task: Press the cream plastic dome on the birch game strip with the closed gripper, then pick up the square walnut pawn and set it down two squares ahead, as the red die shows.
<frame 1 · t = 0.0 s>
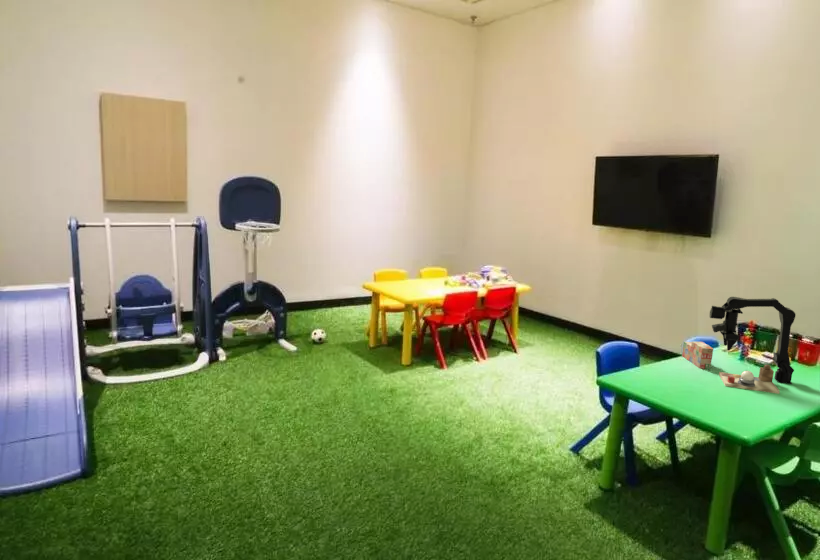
hand: (726, 347, 295), 15 cm above the table, fingers open, 9 cm apart
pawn: (765, 380, 285), point 2 cm above the table, touching game board
stack of blocks: (695, 362, 314), on the table
game board: (747, 383, 283), on the table
dome: (747, 376, 277), point 6 cm above the table, slide at 0.0 cm
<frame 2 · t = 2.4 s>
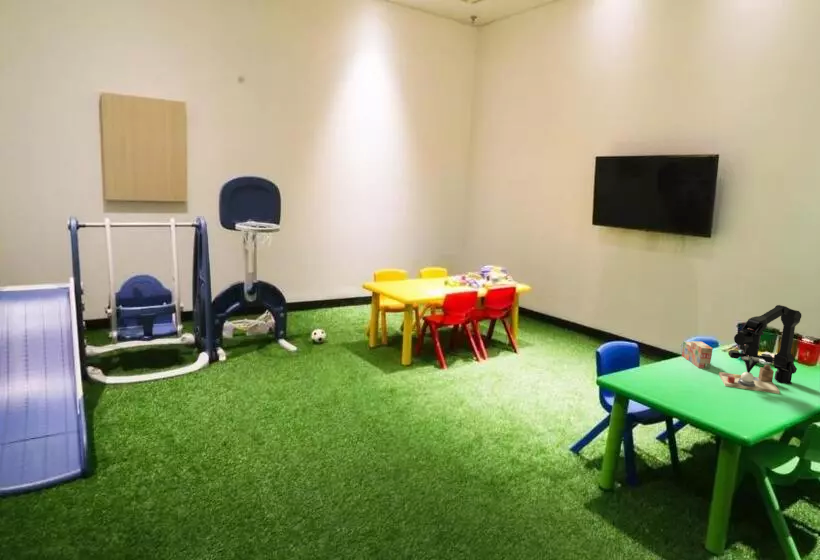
hand: (748, 372, 277), 8 cm above the table, fingers closed, pressing on dome
dome: (747, 377, 277), point 5 cm above the table, slide at 0.6 cm, touching gripper
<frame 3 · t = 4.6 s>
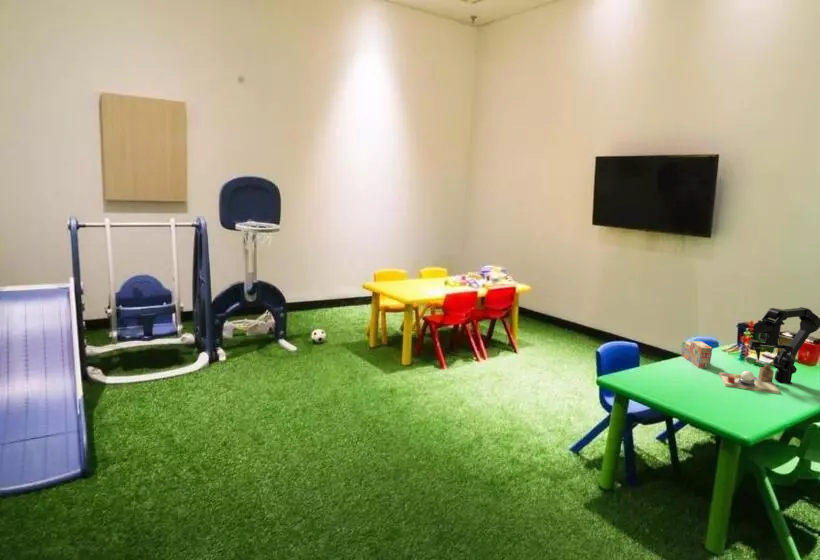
hand: (768, 361, 283), 12 cm above the table, fingers open, 9 cm apart
dome: (747, 376, 277), point 6 cm above the table, slide at 0.0 cm
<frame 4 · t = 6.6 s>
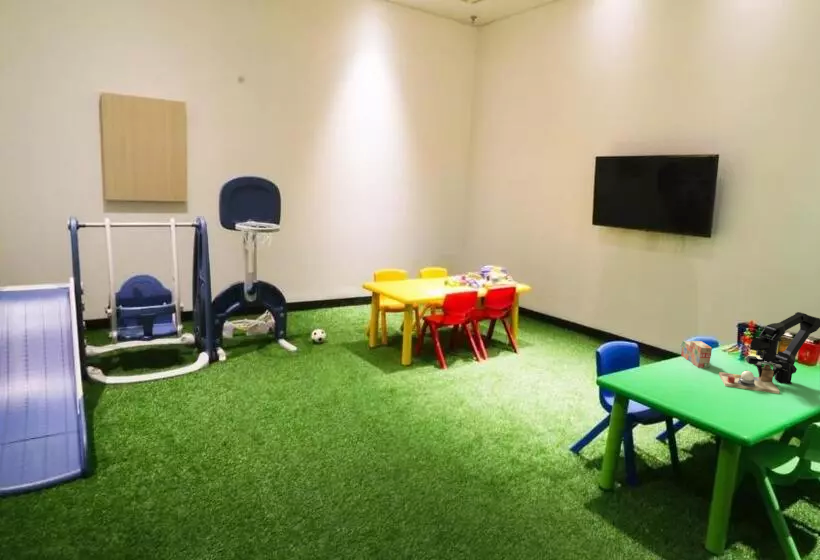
hand: (765, 377, 284), 3 cm above the table, fingers closed on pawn, 5 cm apart
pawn: (765, 380, 285), point 2 cm above the table, touching game board, gripper
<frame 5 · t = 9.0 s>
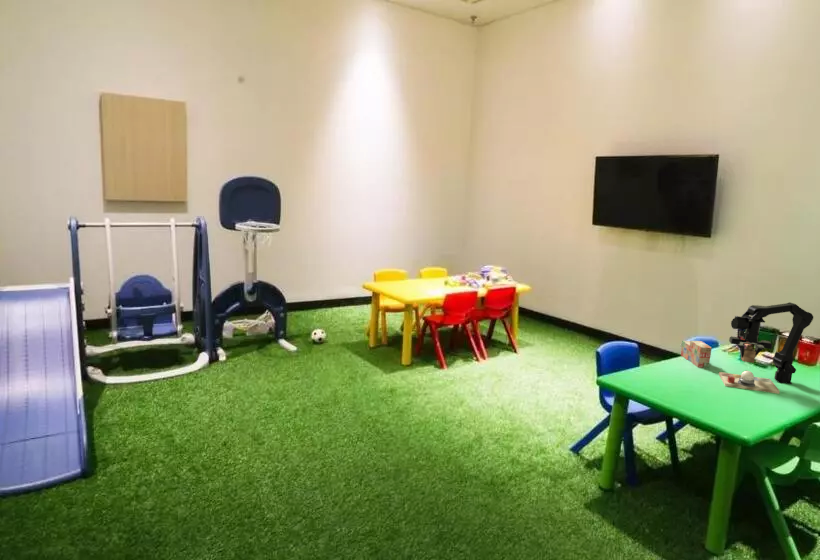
hand: (747, 358, 286), 12 cm above the table, fingers closed on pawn, 5 cm apart
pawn: (747, 360, 286), point 11 cm above the table, touching gripper
when the fingers open (4 cm above the table, at t = 11.5 s): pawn drops 1 cm, resting on game board.
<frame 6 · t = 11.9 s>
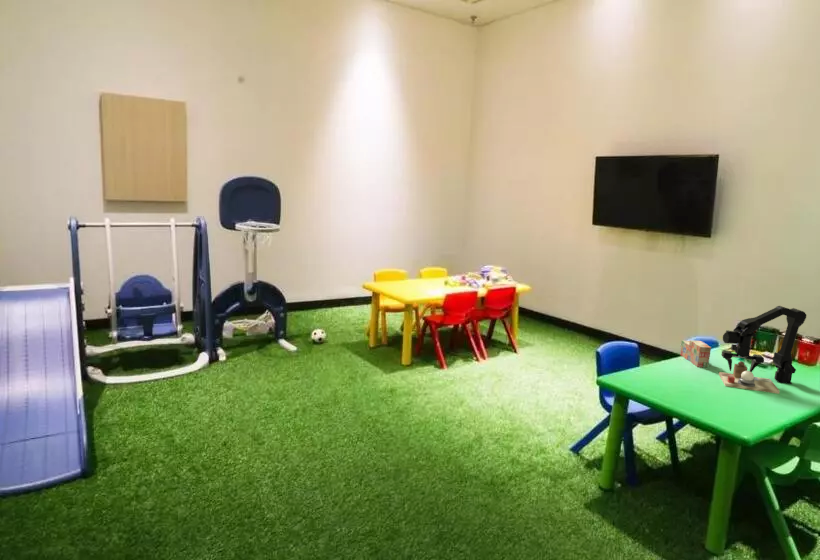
hand: (740, 371, 288), 4 cm above the table, fingers open, 9 cm apart
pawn: (739, 376, 289), point 2 cm above the table, touching game board
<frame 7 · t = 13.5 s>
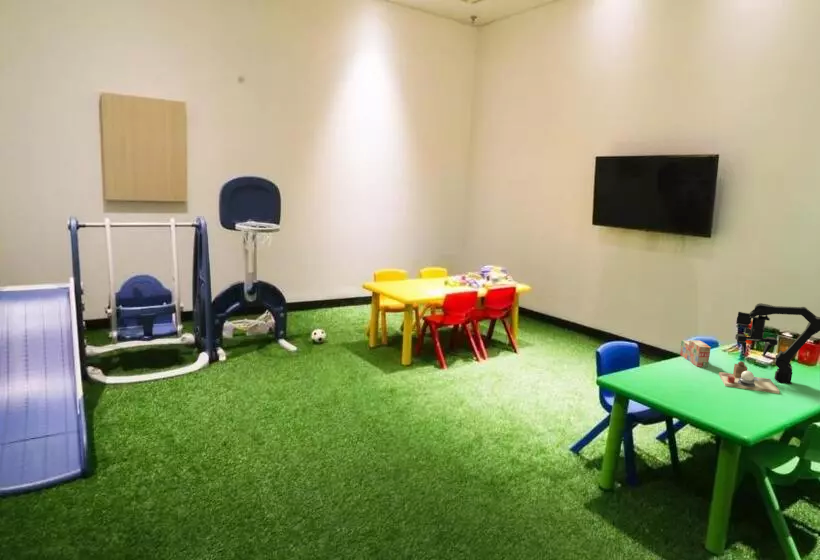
hand: (753, 354, 294), 12 cm above the table, fingers open, 9 cm apart
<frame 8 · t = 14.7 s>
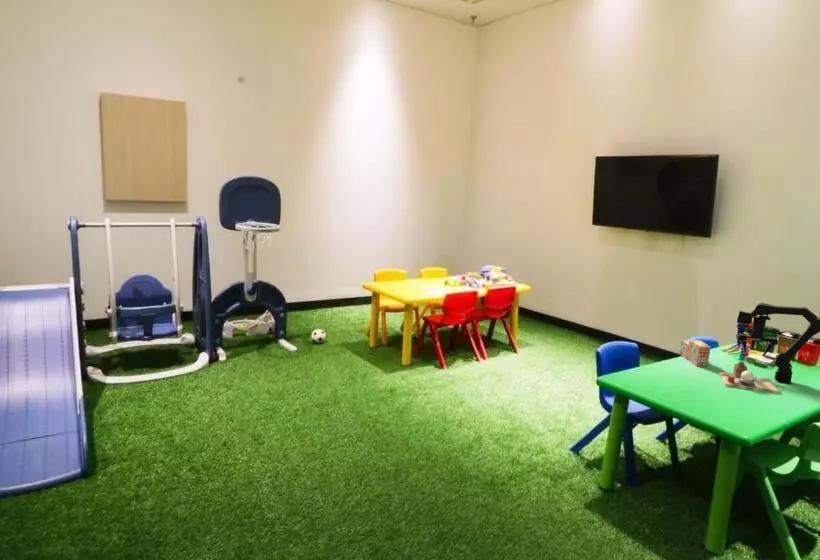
hand: (754, 354, 294), 12 cm above the table, fingers open, 9 cm apart
at the end: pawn 0.1 cm from the target spot, point 1.6 cm above the table; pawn tilted 0°; dome slide at 0.0 cm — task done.
